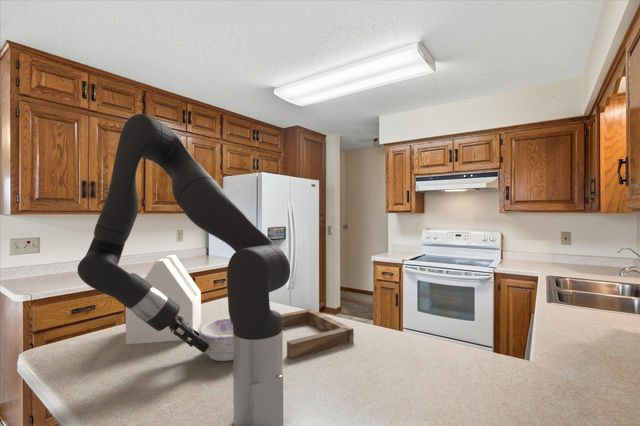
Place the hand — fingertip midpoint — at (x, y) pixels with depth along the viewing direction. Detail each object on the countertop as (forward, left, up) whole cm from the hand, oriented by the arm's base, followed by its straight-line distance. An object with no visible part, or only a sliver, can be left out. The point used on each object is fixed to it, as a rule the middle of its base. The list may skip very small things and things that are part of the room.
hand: (202, 343), depth 88 cm
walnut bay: (0, -31, -4) cm, 31 cm away
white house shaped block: (+28, +5, -5) cm, 28 cm away
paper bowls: (0, -7, -5) cm, 8 cm away
